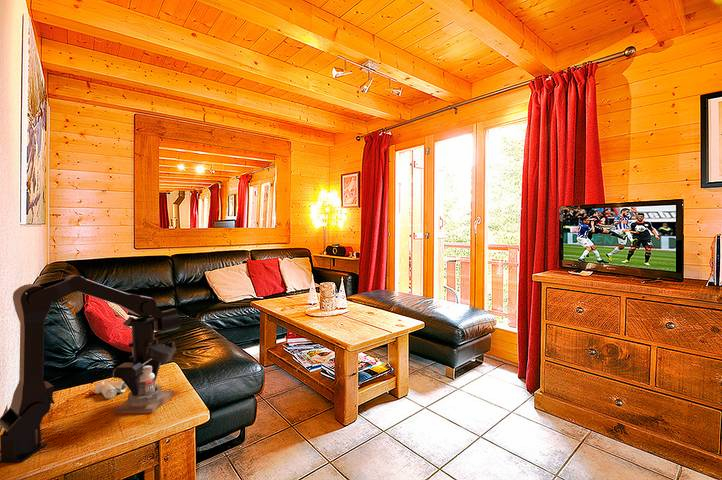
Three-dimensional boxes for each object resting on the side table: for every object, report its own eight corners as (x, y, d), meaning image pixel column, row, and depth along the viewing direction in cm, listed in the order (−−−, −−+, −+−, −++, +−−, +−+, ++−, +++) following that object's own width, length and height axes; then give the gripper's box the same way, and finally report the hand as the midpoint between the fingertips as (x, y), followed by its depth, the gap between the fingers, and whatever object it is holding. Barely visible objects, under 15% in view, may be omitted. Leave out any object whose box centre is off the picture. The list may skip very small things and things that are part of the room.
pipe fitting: (114, 401, 107) (127, 389, 114) (113, 389, 107) (126, 378, 114) (87, 402, 107) (102, 390, 114) (86, 390, 106) (101, 379, 113)
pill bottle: (149, 403, 102) (148, 371, 101) (130, 404, 101) (129, 371, 101) (159, 395, 107) (158, 364, 107) (141, 395, 107) (140, 364, 107)
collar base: (152, 412, 99) (152, 400, 99) (114, 413, 99) (114, 400, 99) (173, 394, 110) (173, 383, 110) (139, 394, 110) (138, 383, 110)
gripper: (151, 347, 94) (153, 403, 95) (185, 328, 113) (186, 374, 114) (110, 348, 94) (112, 404, 95) (151, 328, 113) (153, 375, 114)
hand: (144, 388), depth 104 cm, fingers open, 8 cm apart
